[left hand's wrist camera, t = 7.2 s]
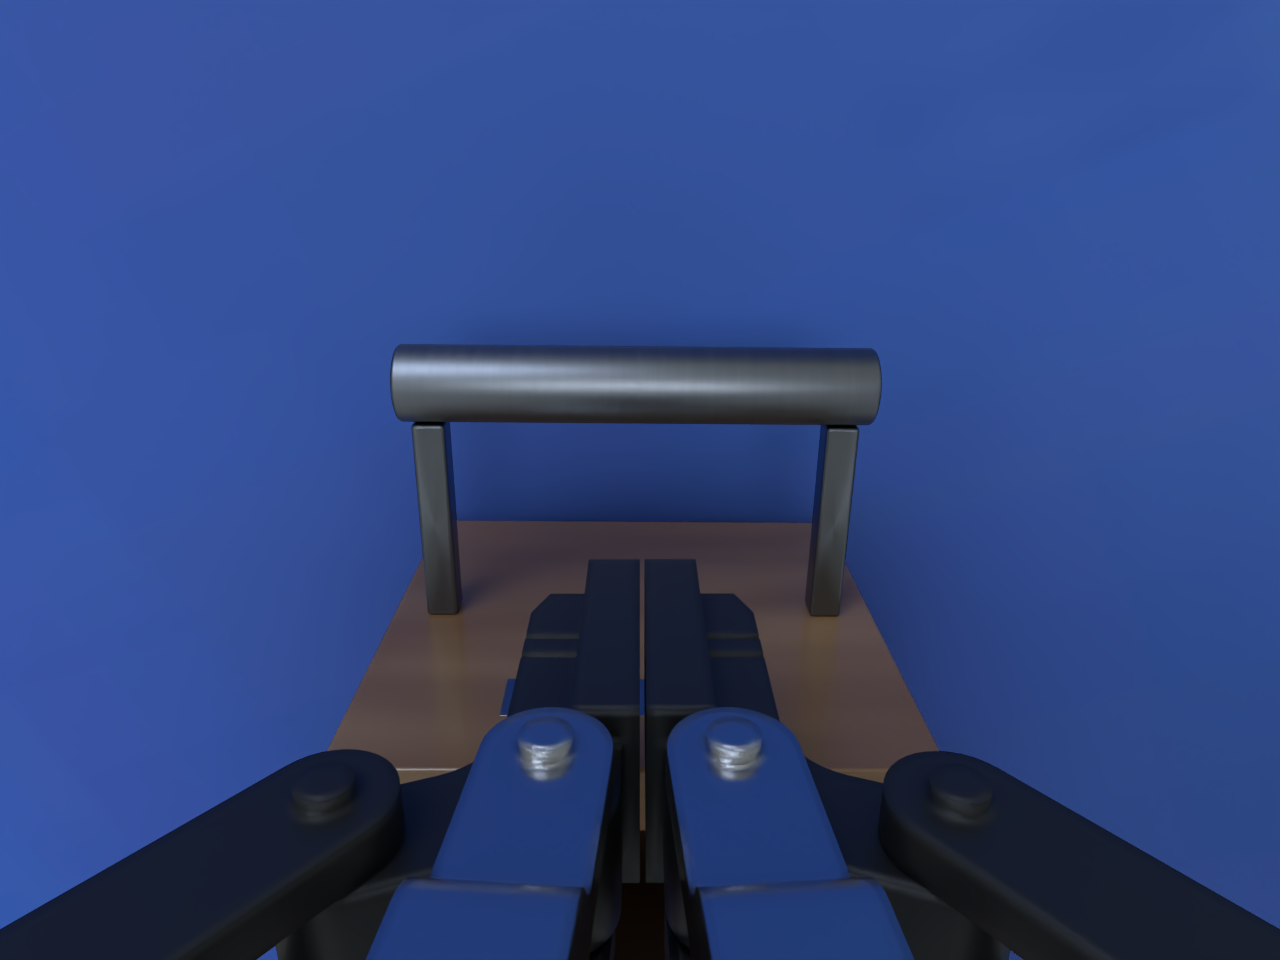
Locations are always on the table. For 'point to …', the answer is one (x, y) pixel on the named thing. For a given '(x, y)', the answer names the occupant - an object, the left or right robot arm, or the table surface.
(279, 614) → the table surface
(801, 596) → the drawer
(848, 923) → the left robot arm
